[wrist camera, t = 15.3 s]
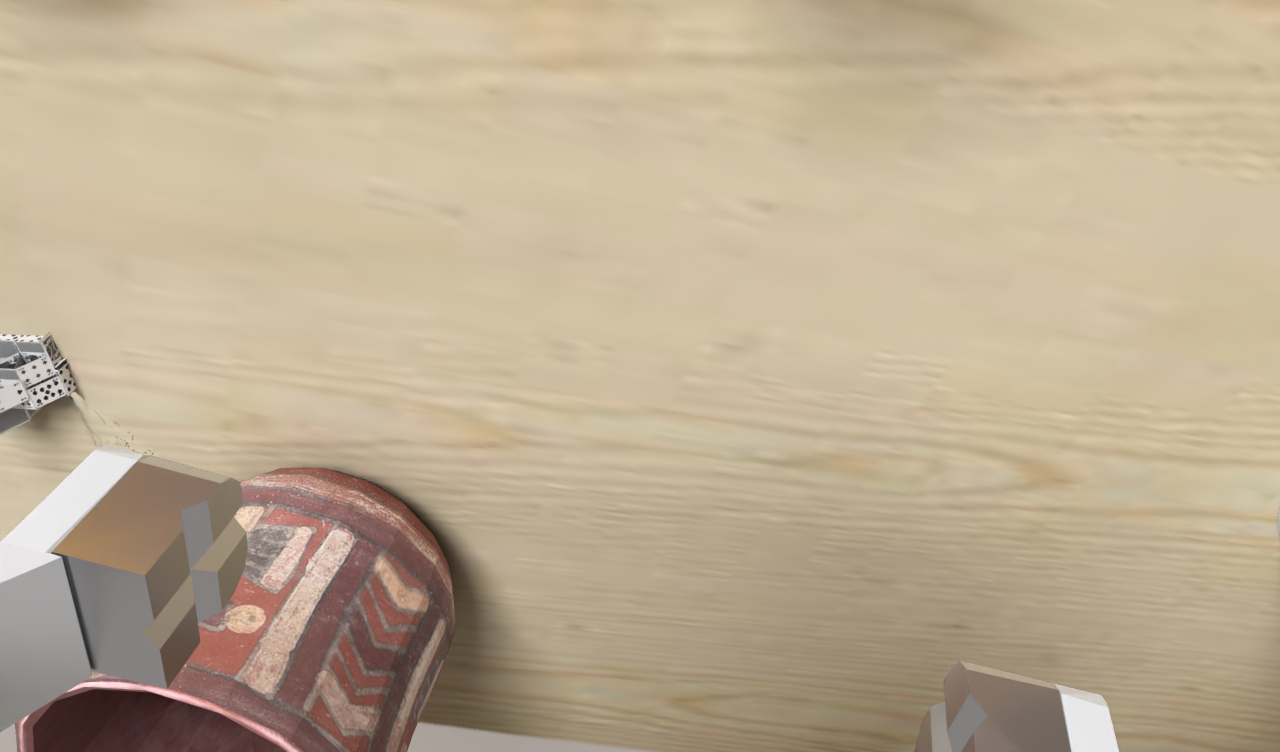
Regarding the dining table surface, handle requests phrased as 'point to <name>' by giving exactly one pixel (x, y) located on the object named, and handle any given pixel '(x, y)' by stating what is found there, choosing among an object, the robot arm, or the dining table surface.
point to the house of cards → (30, 377)
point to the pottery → (290, 637)
